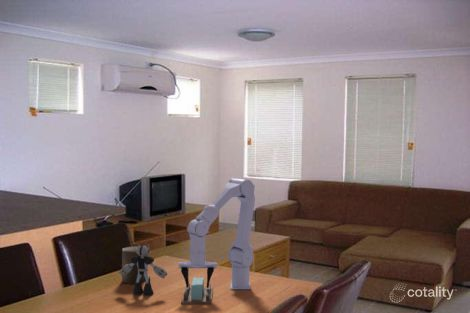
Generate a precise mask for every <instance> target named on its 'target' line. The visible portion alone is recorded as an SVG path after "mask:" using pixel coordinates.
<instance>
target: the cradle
mask: <svg viewBox="0 0 470 313" xmlns="http://www.w3.org/2000/svg"><path fill="white" fill-rule="evenodd" d="M213 291H214V288H213V287H212V284H211V283H209V288H207V287H204V292H203V297H202V300H191V283H189V287H188V288H186V287H185V288H184V291H183V294H182V298H181V301H180V305H212V300H213Z"/></svg>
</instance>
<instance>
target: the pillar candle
mask: <svg viewBox="0 0 470 313" xmlns="http://www.w3.org/2000/svg"><path fill="white" fill-rule="evenodd" d="M136 249H138V246H134V245H133V246H127V247H123V248H122V249H121V269H122V268H123V267H124V266H125V265H126V264H131V263H132V262H131V258H132V257H133V256H139V255H138V254H136ZM140 257H141V256H140ZM135 275H136V278H137V276H138V267H137V263H136V264H134V265H133V266H132V269H131V271H130V272H129V273H127V274H126V275H124V276H122V275H121V280H122V281H121V282H122V283H124V284H128V285H135V282H136V279H135ZM141 278H142V279H140V280H141V282H140V283H141V284H142V283H145V280H144V275H142V276H141Z"/></svg>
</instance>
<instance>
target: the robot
mask: <svg viewBox="0 0 470 313" xmlns="http://www.w3.org/2000/svg"><path fill="white" fill-rule="evenodd" d="M140 244H141V242H140V241H138V244H137V247H138V249H136V254H138V255H139V256H133V257H132V258H131V262H132V263H131V264H126V265H125V266H124V267H123V268H122V267H121V269H120V270H119V273H120V275H121V277H122V276H124V275H126V274H127V273H129V272H130V271H131V269H132V266H133V265H134V264H136V263H137V267H138V276H137V278H136V275H135V279H136V282H135V284H133V285H134V286H133V290H132V291H133V292H132V293H133V295H135V296H139V295H143V296H144V297H145V296H146V297H147V296H152V295H154V290H153V287H152V284H151V276H149V274H148V271H149V270H148V269H149V268H148V266H151V267H152V269H153V271H154V273H155V274H156V275H157V276H158V277H160V278H161V279H165V277H167V275H168V272H167V271H166V270H165V269H164V268H163V267H162V266H160V265H155V264H153V263H154V261H155V258H153V257H151V256H149V254H150V242H148V243H147V245H145V244H142V245H140ZM140 256H141V257H140ZM142 275H144V280H145V281H144V287H143V285H142V283H140V282H141V280H140V279H142V278H141V276H142Z"/></svg>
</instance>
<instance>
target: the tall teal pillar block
mask: <svg viewBox="0 0 470 313" xmlns="http://www.w3.org/2000/svg"><path fill="white" fill-rule="evenodd" d="M204 283H205V280H204V277H193V279H192V282H191V284H190V288H191V300H202V297H203V292H204V288H205V287H204V285H205V284H204Z"/></svg>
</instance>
